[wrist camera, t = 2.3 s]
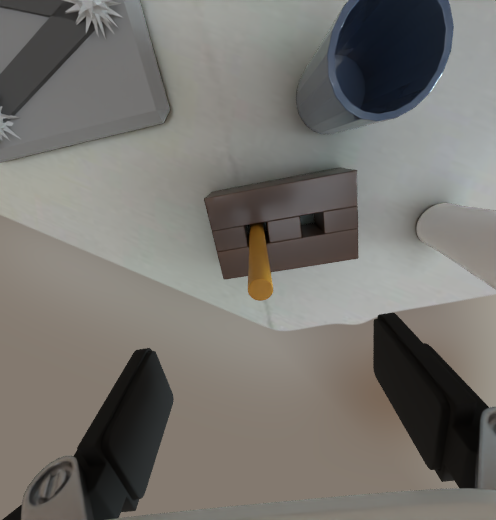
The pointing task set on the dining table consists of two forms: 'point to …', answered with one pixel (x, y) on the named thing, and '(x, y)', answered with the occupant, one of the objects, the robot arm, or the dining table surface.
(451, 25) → the tumbler
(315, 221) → the brown wooden block
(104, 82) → the decorative plate
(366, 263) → the dining table surface
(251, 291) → the orange rod
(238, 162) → the dining table surface
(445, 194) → the dining table surface
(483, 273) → the drinking glass
